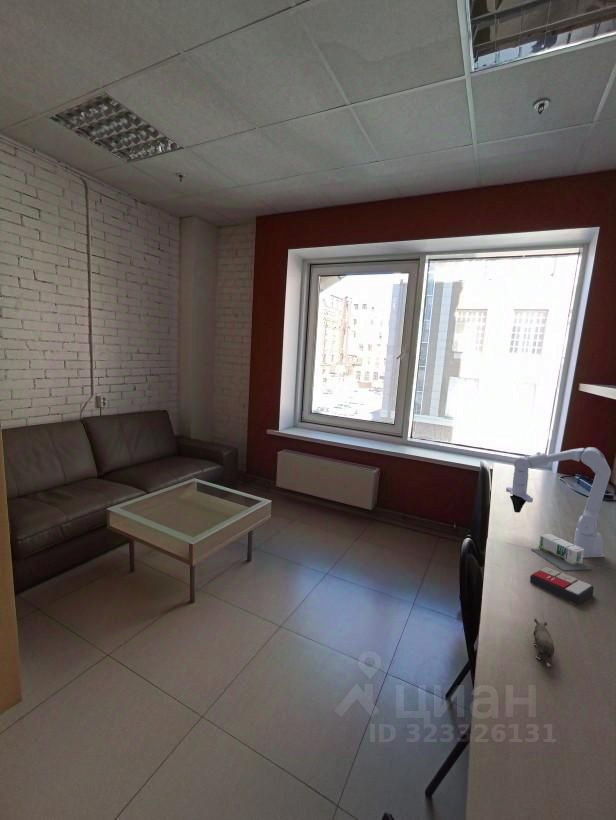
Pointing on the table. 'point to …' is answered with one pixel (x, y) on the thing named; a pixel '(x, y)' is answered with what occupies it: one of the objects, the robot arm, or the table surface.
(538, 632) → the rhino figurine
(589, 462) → the robot arm
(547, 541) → the syrup box
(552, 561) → the mat
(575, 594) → the red and white box
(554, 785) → the table surface
